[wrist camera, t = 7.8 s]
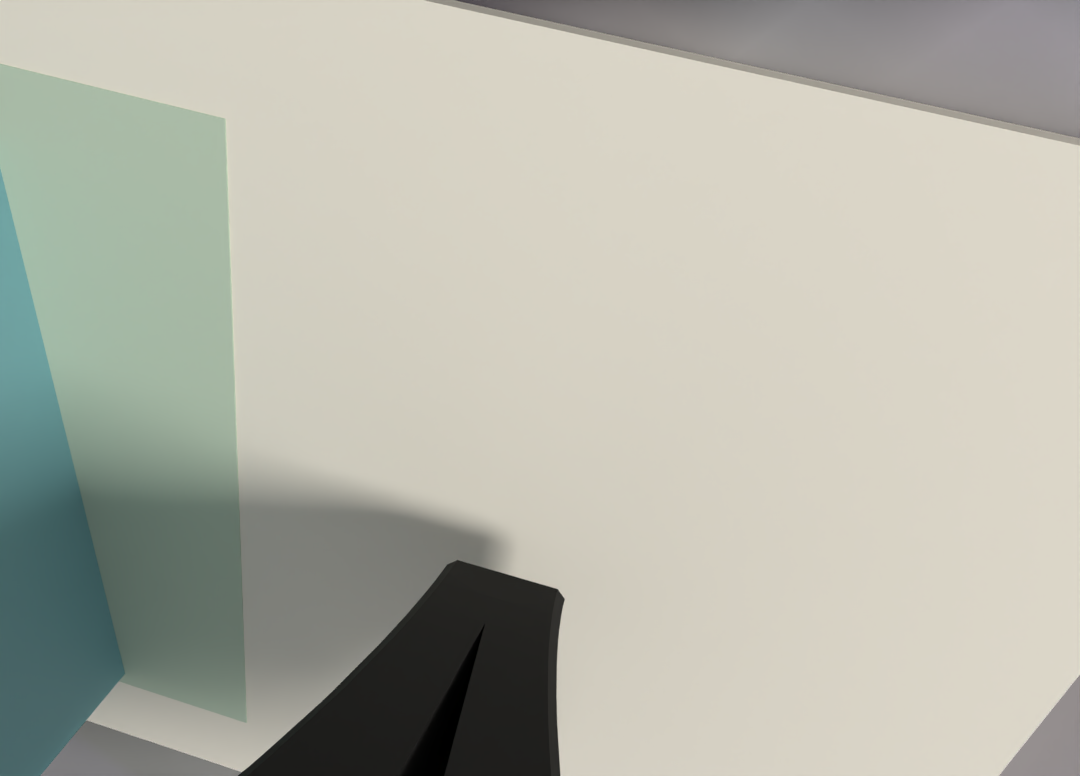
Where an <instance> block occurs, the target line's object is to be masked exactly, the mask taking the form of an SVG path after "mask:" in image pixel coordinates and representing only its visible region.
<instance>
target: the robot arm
mask: <svg viewBox="0 0 1080 776" xmlns="http://www.w3.org/2000/svg"><path fill="white" fill-rule="evenodd" d="M564 601H565V599H564V597H563V596H562V594H561V593H560V592H559V590H558V589H556V588H552V587H549V586H546V585H542V584H539V583H535V582H532V581H528V580H525V579H521V578H518V577H515V576H511V575H508V574H504V573H501V572H497V571H494V570H490V569H487V568H484V567H480V566H477V565H473V564H470V563H466V562H463V561H459V560H456V561H454V562H452V563H449V564H447V565H446V567H445V568H444V569H443V571H442V572H441V573H440V575H439V576H438V577H437V579H436V580H435V581H434V583H433V584H432V585H431V586H430V587H429V589H428V590H427V591H426V592H425V594H424V595H423V596H422V597H421V598H420V600H419V601H418V602H417V603H416V604H415V605H414V607H413V608H412V609H411V610H410V611H409V612H408V613H407V615H406V616H405V617H404V618H403V619H402V620H401V621H400V622H399V623H398V624H397V626H396V627H395V628H394V629H393V630H392V631H391V632H390V633H389V634H388V635H387V636H386V637H385V639H384V640H383V641H382V642H381V643H380V644H379V645H378V646H377V647H376V648H375V649H374V650H373V651H372V652H371V653H370V654H369V655H368V656H367V657H366V658H365V659H364V660H363V661H362V662H361V663H360V664H359V665H358V666H357V667H356V668H355V669H354V670H353V671H352V672H351V673H350V674H349V675H348V676H347V677H346V678H345V679H344V680H343V681H342V682H341V683H340V684H339V685H338V686H337V687H336V688H335V689H334V690H333V691H332V692H331V693H330V694H329V695H328V696H327V697H326V698H325V699H324V700H323V701H322V702H321V703H319V704H318V705H317V706H316V707H315V708H314V709H313V710H312V711H311V712H309V713H308V714H307V715H306V716H305V717H304V718H303V719H302V720H301V721H300V722H298V723H297V724H296V725H295V726H294V727H293V728H292V729H291V730H290V731H288V732H287V733H286V734H285V735H284V736H283V737H282V738H281V739H280V740H278V741H277V742H276V743H275V744H274V745H273V746H272V747H271V748H270V749H268V750H267V751H266V752H265V753H264V754H263V755H262V756H261V757H259V758H258V759H257V760H256V761H255V762H254V763H252V764H251V765H250V766H249V767H248V768H246V769H245V770H244V771H243V772H242V773H241V774H239V775H238V776H560V761H559V744H558V728H557V651H558V638H559V628H560V621H561V614H562V609H563V605H564Z"/></svg>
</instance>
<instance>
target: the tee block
mask: <svg viewBox="0 0 1080 776" xmlns="http://www.w3.org/2000/svg"><path fill="white" fill-rule="evenodd" d="M124 674H125V671H124V667H123V663H122V659H121V655H120V651H119V647H118V643H117V638H116V634H115V630H114V626H113V622H112V618H111V614H110V610H109V606H108V602H107V598H106V594H105V590H104V586H103V582H102V578H101V574H100V570H99V566H98V562H97V557H96V553H95V549H94V545H93V541H92V537H91V533H90V529H89V525H88V521H87V517H86V513H85V509H84V505H83V501H82V497H81V493H80V489H79V485H78V481H77V477H76V472H75V468H74V464H73V460H72V456H71V452H70V448H69V444H68V440H67V436H66V432H65V428H64V424H63V420H62V416H61V412H60V408H59V404H58V400H57V396H56V392H55V387H54V383H53V379H52V375H51V371H50V367H49V363H48V359H47V355H46V351H45V347H44V343H43V339H42V335H41V331H40V327H39V323H38V319H37V315H36V311H35V307H34V302H33V298H32V294H31V290H30V286H29V282H28V278H27V274H26V270H25V266H24V262H23V258H22V254H21V250H20V246H19V242H18V238H17V234H16V230H15V226H14V221H13V217H12V213H11V209H10V205H9V201H8V197H7V193H6V189H5V185H4V181H3V177H2V173H1V169H0V776H40V775H41V774H42V773H43V772H44V770H45V769H46V768H47V767H48V766H49V764H50V763H51V762H52V761H53V760H54V758H55V757H56V756H57V755H58V754H59V752H60V751H61V750H62V749H63V748H64V746H65V745H66V744H67V743H68V742H69V740H70V739H71V738H72V737H73V736H74V734H75V733H76V732H77V731H78V730H79V728H80V727H81V726H82V725H83V724H84V722H85V721H86V720H87V719H88V718H89V716H90V715H91V714H92V713H93V712H94V710H95V709H96V708H97V707H98V706H99V704H100V703H101V702H102V701H103V700H104V698H105V697H106V696H107V695H108V694H109V692H110V691H111V690H112V689H113V688H114V686H115V685H116V684H117V683H118V682H119V680H120V679H121V678H122V677H123V676H124Z"/></svg>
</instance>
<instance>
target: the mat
mask: <svg viewBox="0 0 1080 776" xmlns="http://www.w3.org/2000/svg"><path fill="white" fill-rule="evenodd" d="M0 169H1V173H2V177H3V181H4V185H5V189H6V193H7V197H8V201H9V205H10V209H11V213H12V217H13V221H14V226H15V230H16V234H17V238H18V242H19V246H20V250H21V254H22V258H23V262H24V266H25V270H26V274H27V278H28V282H29V286H30V290H31V294H32V298H33V302H34V307H35V311H36V315H37V319H38V323H39V327H40V331H41V335H42V339H43V343H44V347H45V351H46V355H47V359H48V363H49V367H50V371H51V375H52V379H53V383H54V387H55V392H56V396H57V400H58V404H59V408H60V412H61V416H62V420H63V424H64V428H65V432H66V436H67V440H68V444H69V448H70V452H71V456H72V460H73V464H74V468H75V472H76V477H77V481H78V485H79V489H80V493H81V497H82V501H83V505H84V509H85V513H86V517H87V521H88V525H89V529H90V533H91V537H92V541H93V545H94V549H95V553H96V557H97V562H98V566H99V570H100V574H101V578H102V582H103V586H104V590H105V594H106V598H107V602H108V606H109V610H110V614H111V618H112V622H113V626H114V630H115V634H116V638H117V643H118V647H119V651H120V655H121V659H122V663H123V667H124V671H125V674H124V676H123V677H122V678H121V679H120V680H119V682H118V683H117V684H116V685H115V686H114V688H113V689H112V690H111V691H110V692H109V694H108V695H107V696H106V697H105V698H104V700H103V701H102V702H101V703H100V704H99V706H98V707H97V708H96V709H95V710H94V712H93V713H92V714H91V715H90V716H89V718H88V719H87V721H90V722H93V723H96V724H99V725H102V726H105V727H108V728H111V729H114V730H117V731H120V732H123V733H126V734H129V735H132V736H135V737H138V738H141V739H144V740H147V741H150V742H153V743H156V744H159V745H162V746H165V747H168V748H171V749H174V750H177V751H180V752H183V753H186V754H189V755H192V756H195V757H198V758H201V759H204V760H207V761H210V762H213V763H216V764H219V765H222V766H225V767H228V768H231V769H234V770H237V771H240V772H243V771H244V770H245V769H246V768H248V767H249V766H250V765H251V764H252V763H254V762H255V761H256V760H257V759H258V758H259V757H261V756H262V755H263V754H264V753H265V752H266V751H267V750H268V749H270V748H271V747H272V746H273V745H274V744H275V743H276V742H277V741H278V740H280V739H281V738H282V737H283V736H284V735H285V734H286V733H287V732H288V731H290V730H291V729H292V728H293V727H294V726H295V725H296V724H297V723H298V722H300V721H301V720H302V719H303V718H304V717H305V716H306V715H307V714H308V713H309V712H311V711H312V710H313V709H314V708H315V707H316V706H317V705H318V704H319V703H321V702H322V701H323V700H324V699H325V698H326V697H327V696H328V695H329V694H330V693H331V692H332V691H333V690H334V689H335V688H336V687H337V686H338V685H339V684H340V683H341V682H342V681H343V680H344V679H345V678H346V677H347V676H348V675H349V674H350V673H351V672H352V671H353V670H354V669H355V668H356V667H357V666H358V665H359V664H360V663H361V662H362V661H363V660H364V659H365V658H366V657H367V656H368V655H369V654H370V653H371V652H372V651H373V650H374V649H375V648H376V647H377V646H378V645H379V644H380V643H381V642H382V641H383V640H384V639H385V637H386V636H387V635H388V634H389V633H390V632H391V631H392V630H393V629H394V628H395V627H396V626H397V624H398V623H399V622H400V621H401V620H402V619H403V618H404V617H405V616H406V615H407V613H408V612H409V611H410V610H411V609H412V608H413V607H414V605H415V604H416V603H417V602H418V601H419V600H420V598H421V597H422V596H423V595H424V594H425V592H426V591H427V590H428V589H429V587H430V586H431V585H432V584H433V583H434V581H435V580H436V579H437V577H438V576H439V575H440V573H441V572H442V571H443V569H444V568H445V567H446V565H447V564H449V563H452V562H454V561H456V560H459V561H463V562H466V563H470V564H473V565H477V566H480V567H484V568H487V569H490V570H494V571H497V572H501V573H504V574H508V575H511V576H515V577H518V578H521V579H525V580H528V581H532V582H535V583H539V584H542V585H546V586H549V587H552V588H556V589H558V590H559V592H560V593H561V594H562V596H563V597H564V599H565V601H564V605H563V609H562V614H561V621H560V628H559V638H558V651H557V728H558V744H559V761H560V776H999V775H1000V773H1001V772H1002V771H1003V770H1004V768H1005V767H1006V766H1007V765H1008V763H1009V762H1010V761H1011V760H1012V758H1013V757H1014V756H1015V755H1016V753H1017V752H1018V751H1019V750H1020V748H1021V747H1022V746H1023V745H1024V743H1025V742H1026V741H1027V740H1028V738H1029V737H1030V736H1031V735H1032V733H1033V732H1034V731H1035V730H1036V728H1037V727H1038V726H1039V725H1040V723H1041V722H1042V721H1043V720H1044V718H1045V717H1046V716H1047V715H1048V713H1049V712H1050V711H1051V710H1052V708H1053V707H1054V706H1055V705H1056V704H1057V702H1058V701H1059V700H1060V699H1061V697H1062V696H1063V695H1064V694H1065V692H1066V691H1067V690H1068V689H1069V687H1070V686H1071V685H1072V684H1073V682H1074V681H1075V680H1076V679H1077V677H1078V676H1079V675H1080V138H1076V137H1071V136H1067V135H1062V134H1058V133H1053V132H1049V131H1044V130H1039V129H1035V128H1030V127H1026V126H1021V125H1017V124H1012V123H1008V122H1003V121H999V120H994V119H990V118H985V117H981V116H976V115H972V114H967V113H962V112H958V111H953V110H949V109H944V108H940V107H935V106H931V105H926V104H922V103H917V102H913V101H908V100H904V99H899V98H895V97H890V96H885V95H881V94H876V93H872V92H867V91H863V90H858V89H854V88H849V87H845V86H840V85H836V84H831V83H827V82H822V81H818V80H813V79H808V78H804V77H799V76H795V75H790V74H786V73H781V72H777V71H772V70H768V69H763V68H759V67H754V66H750V65H745V64H740V63H736V62H731V61H727V60H722V59H718V58H713V57H709V56H704V55H700V54H695V53H691V52H686V51H682V50H677V49H673V48H668V47H663V46H659V45H654V44H650V43H645V42H641V41H636V40H632V39H627V38H623V37H618V36H614V35H609V34H605V33H600V32H596V31H591V30H586V29H582V28H577V27H573V26H568V25H564V24H559V23H555V22H550V21H546V20H541V19H537V18H532V17H528V16H523V15H519V14H514V13H509V12H505V11H500V10H496V9H491V8H487V7H482V6H478V5H473V4H469V3H464V2H460V1H455V0H0Z"/></svg>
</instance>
